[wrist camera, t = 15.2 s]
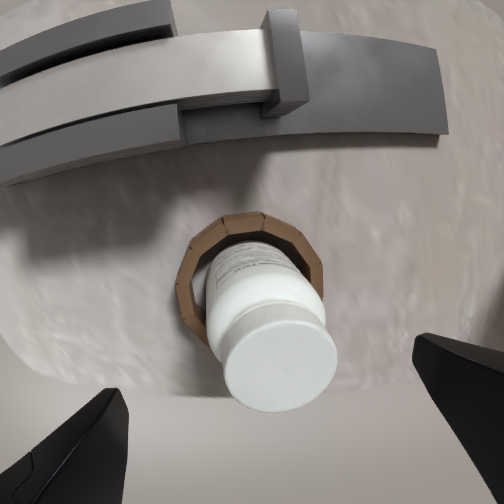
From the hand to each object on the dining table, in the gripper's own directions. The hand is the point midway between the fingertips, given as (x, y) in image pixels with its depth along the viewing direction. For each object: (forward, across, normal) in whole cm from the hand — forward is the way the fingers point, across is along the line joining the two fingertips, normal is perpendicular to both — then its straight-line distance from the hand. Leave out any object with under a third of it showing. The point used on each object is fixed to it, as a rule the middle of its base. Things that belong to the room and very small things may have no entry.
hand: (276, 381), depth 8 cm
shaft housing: (+8, 0, -10) cm, 12 cm away
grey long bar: (+7, +5, -10) cm, 13 cm away
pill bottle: (+8, 0, 0) cm, 8 cm away
